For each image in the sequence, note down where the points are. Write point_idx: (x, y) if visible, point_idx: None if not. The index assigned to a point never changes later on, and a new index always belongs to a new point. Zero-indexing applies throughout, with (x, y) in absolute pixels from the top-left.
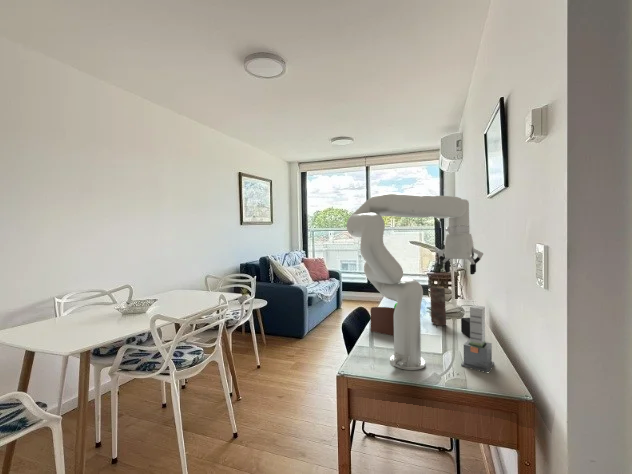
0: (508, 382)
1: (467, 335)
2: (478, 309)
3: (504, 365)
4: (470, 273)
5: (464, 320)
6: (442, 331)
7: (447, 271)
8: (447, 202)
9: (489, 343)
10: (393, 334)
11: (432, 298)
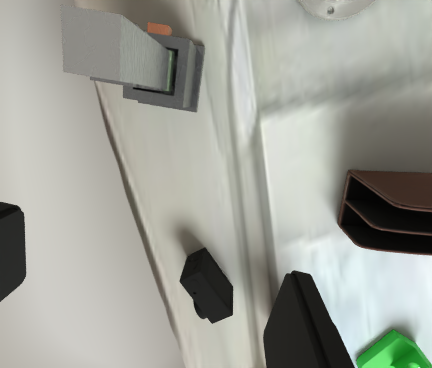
0: (101, 6)
1: (216, 264)
2: (81, 9)
3: (121, 109)
4: (14, 210)
5: (222, 299)
6: (275, 273)
7: (286, 285)
8: None
9: (127, 93)
10: (408, 175)
11: None
